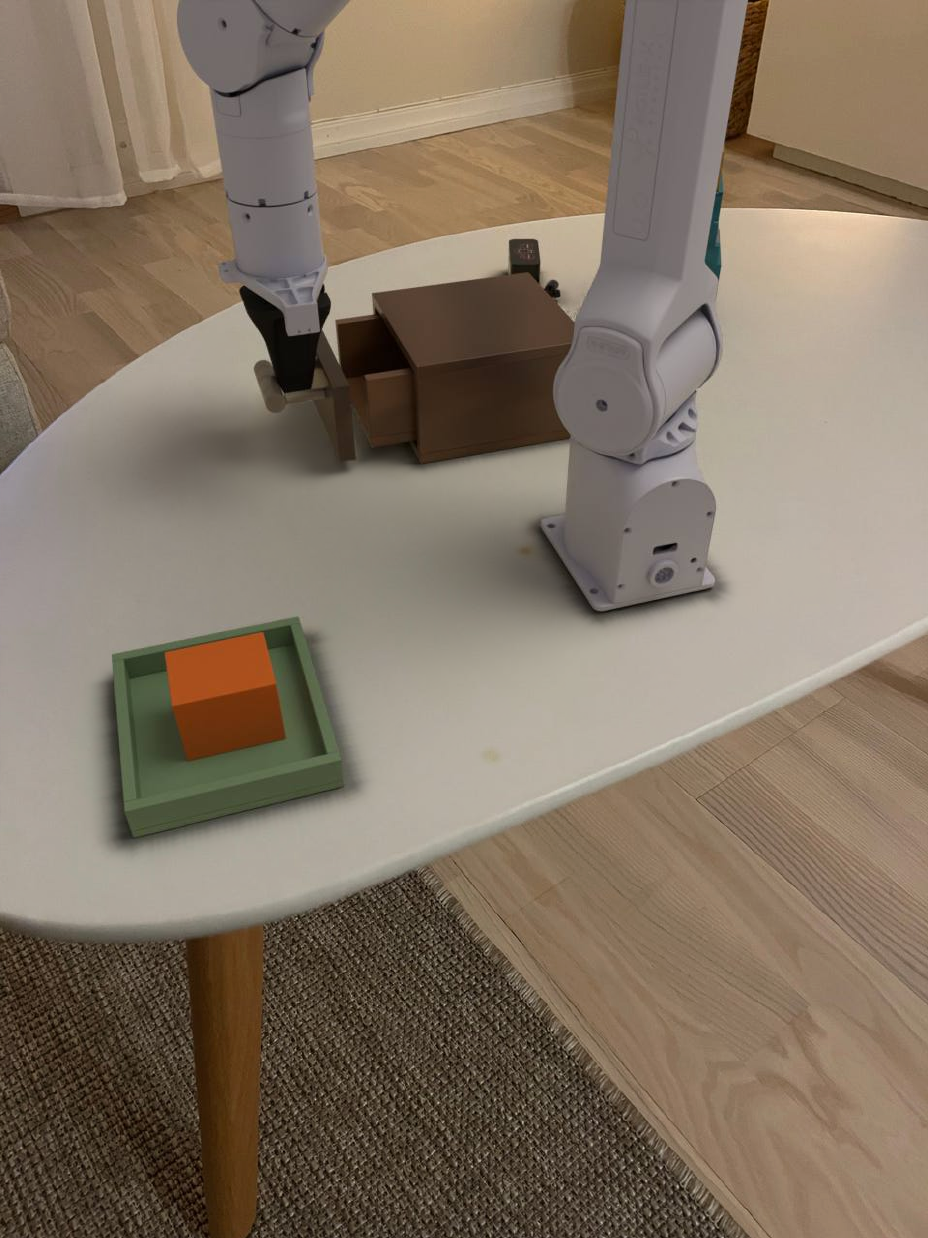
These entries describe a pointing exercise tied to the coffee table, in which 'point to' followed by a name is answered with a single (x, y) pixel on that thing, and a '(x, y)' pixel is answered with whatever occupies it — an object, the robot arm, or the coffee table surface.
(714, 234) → the handheld gaming console
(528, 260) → the wireless earbuds
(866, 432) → the coffee table surface
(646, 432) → the robot arm
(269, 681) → the matte orange cube
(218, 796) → the tray
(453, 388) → the cabinet
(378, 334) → the drawer
